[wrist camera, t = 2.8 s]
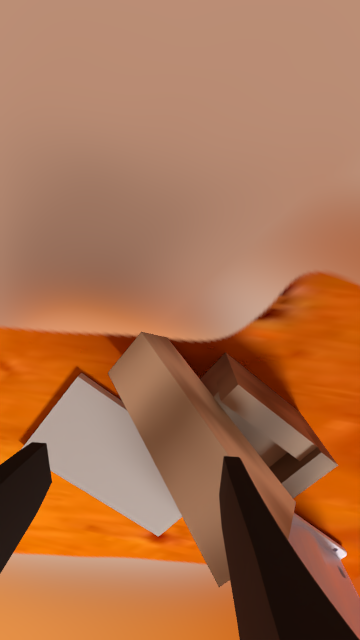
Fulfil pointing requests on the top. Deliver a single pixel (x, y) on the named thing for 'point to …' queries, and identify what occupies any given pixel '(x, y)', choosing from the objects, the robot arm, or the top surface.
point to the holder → (269, 425)
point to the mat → (106, 455)
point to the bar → (191, 442)
